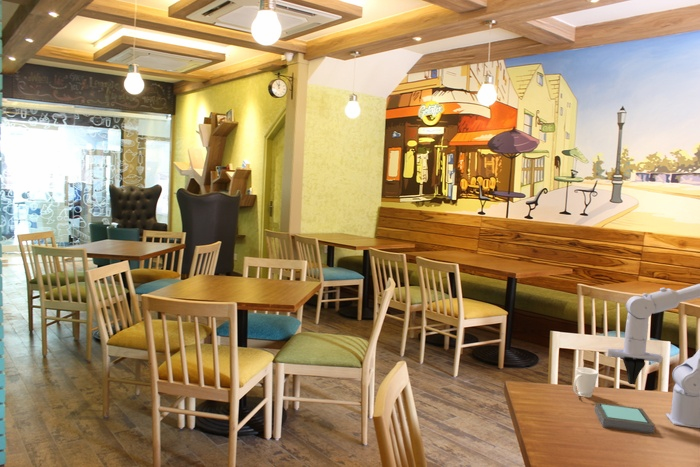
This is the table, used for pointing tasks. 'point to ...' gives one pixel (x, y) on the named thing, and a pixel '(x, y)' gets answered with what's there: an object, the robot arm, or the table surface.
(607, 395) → the table surface
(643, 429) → the plate housing
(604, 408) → the plate
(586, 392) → the cup
